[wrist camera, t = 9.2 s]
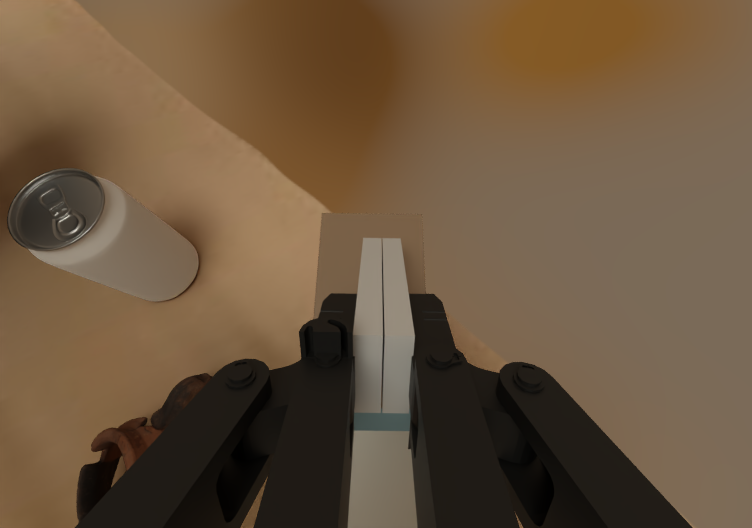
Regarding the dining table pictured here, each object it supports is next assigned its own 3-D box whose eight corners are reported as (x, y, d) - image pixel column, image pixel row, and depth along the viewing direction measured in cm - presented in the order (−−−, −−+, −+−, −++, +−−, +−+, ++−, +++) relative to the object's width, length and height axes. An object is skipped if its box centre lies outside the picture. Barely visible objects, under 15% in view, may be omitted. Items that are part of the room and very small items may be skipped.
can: (151, 317, 31) (25, 279, 20) (116, 264, 33) (-19, 201, 22) (214, 272, 33) (130, 213, 21) (178, 223, 34) (82, 144, 23)
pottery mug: (235, 546, 26) (110, 618, 19) (170, 479, 31) (52, 518, 24) (282, 388, 27) (178, 403, 20) (210, 347, 32) (107, 348, 25)
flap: (493, 432, 14) (469, 211, 17) (242, 429, 14) (273, 208, 17) (455, 425, 20) (444, 264, 24) (284, 423, 20) (300, 262, 24)
